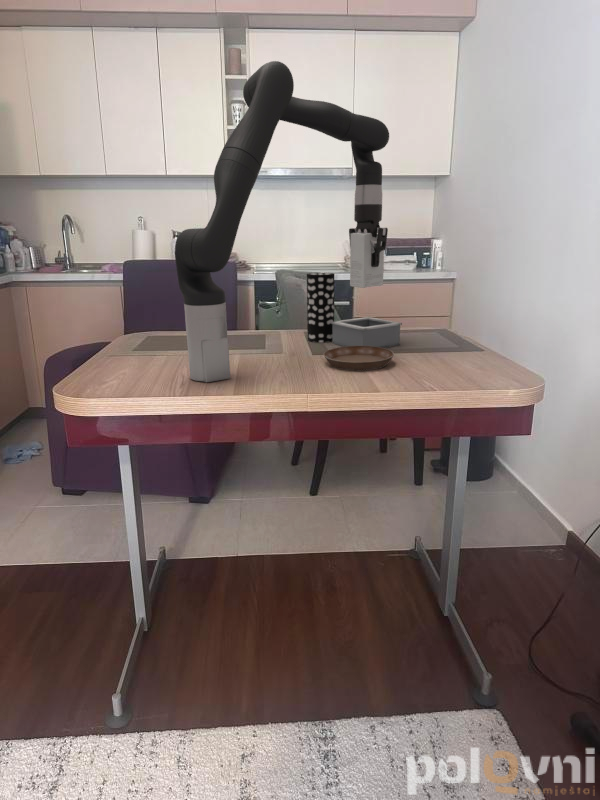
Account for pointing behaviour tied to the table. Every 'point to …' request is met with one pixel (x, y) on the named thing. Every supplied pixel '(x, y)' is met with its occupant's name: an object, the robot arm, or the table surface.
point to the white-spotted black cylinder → (320, 306)
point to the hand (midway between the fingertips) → (366, 266)
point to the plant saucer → (358, 357)
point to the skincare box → (364, 262)
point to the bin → (366, 332)
